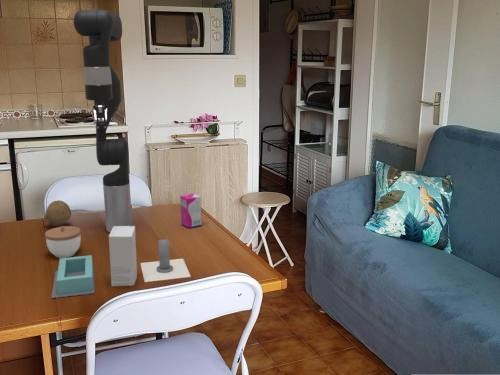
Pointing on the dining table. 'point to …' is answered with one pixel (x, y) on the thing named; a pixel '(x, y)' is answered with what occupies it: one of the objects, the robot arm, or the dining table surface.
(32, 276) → the dining table surface
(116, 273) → the skincare box
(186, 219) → the supplement box
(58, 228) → the lidded jar
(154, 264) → the post stand
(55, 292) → the grey mat
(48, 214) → the natural sponge
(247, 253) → the dining table surface
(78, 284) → the teal link
